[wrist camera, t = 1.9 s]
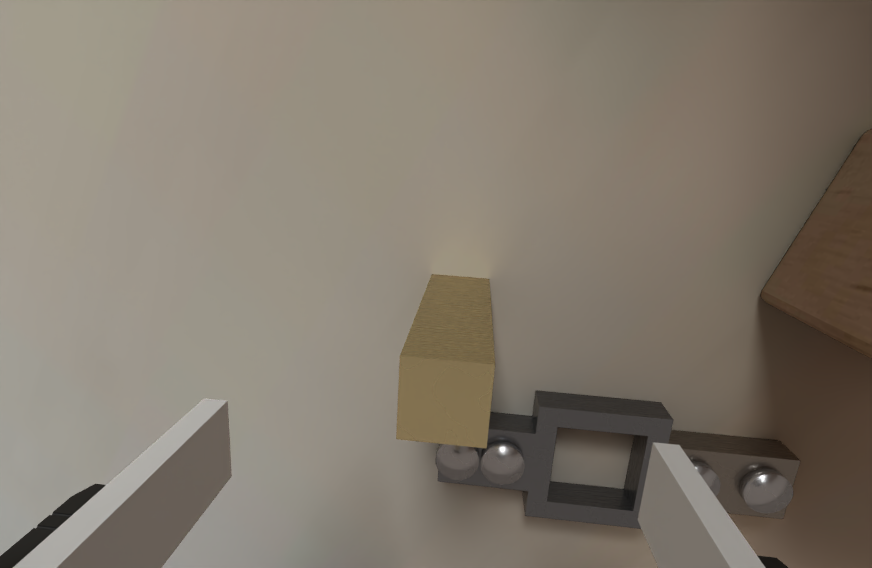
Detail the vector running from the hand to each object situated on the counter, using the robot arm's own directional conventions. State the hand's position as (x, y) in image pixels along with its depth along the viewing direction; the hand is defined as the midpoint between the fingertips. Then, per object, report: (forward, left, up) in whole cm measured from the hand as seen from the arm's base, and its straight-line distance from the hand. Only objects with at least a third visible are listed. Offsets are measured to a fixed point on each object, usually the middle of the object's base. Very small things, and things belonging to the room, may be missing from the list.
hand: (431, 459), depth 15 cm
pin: (0, 0, -15) cm, 15 cm away
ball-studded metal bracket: (+9, +9, -15) cm, 20 cm away
